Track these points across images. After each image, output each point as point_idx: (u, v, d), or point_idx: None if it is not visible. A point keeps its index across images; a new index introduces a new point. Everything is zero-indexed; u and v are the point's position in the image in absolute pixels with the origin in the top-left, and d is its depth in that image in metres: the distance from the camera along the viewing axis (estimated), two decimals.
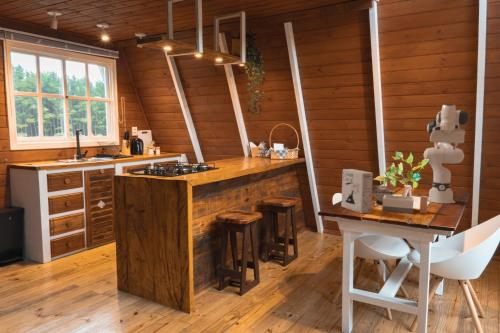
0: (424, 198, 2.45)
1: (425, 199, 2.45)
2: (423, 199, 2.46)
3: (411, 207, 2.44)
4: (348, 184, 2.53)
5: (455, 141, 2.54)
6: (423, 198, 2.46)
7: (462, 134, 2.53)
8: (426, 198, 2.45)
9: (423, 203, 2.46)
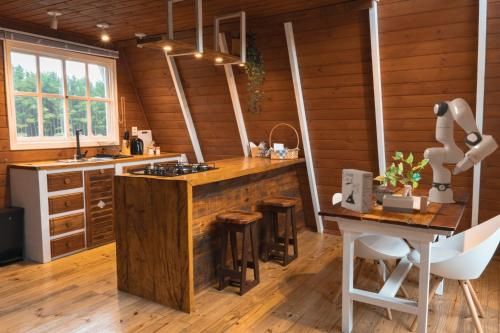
0: (424, 198, 2.45)
1: (425, 199, 2.45)
2: (423, 199, 2.46)
3: (411, 207, 2.44)
4: (348, 184, 2.53)
5: None
6: (423, 198, 2.46)
7: None
8: (426, 198, 2.45)
9: (423, 203, 2.46)
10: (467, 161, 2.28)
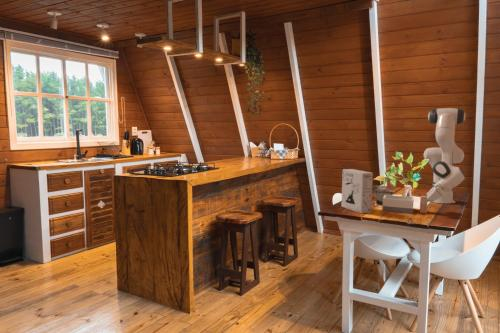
0: (424, 198, 2.45)
1: None
2: (423, 199, 2.46)
3: (411, 207, 2.44)
4: (348, 184, 2.53)
5: None
6: (423, 198, 2.46)
7: None
8: (426, 198, 2.45)
9: None
10: (435, 193, 2.36)
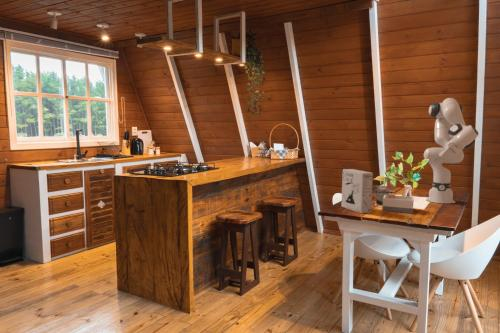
0: (392, 195, 2.53)
1: (393, 196, 2.53)
2: (391, 196, 2.53)
3: (411, 207, 2.44)
4: (348, 184, 2.53)
5: None
6: (391, 195, 2.53)
7: None
8: (394, 195, 2.52)
9: None
10: (448, 150, 2.37)
